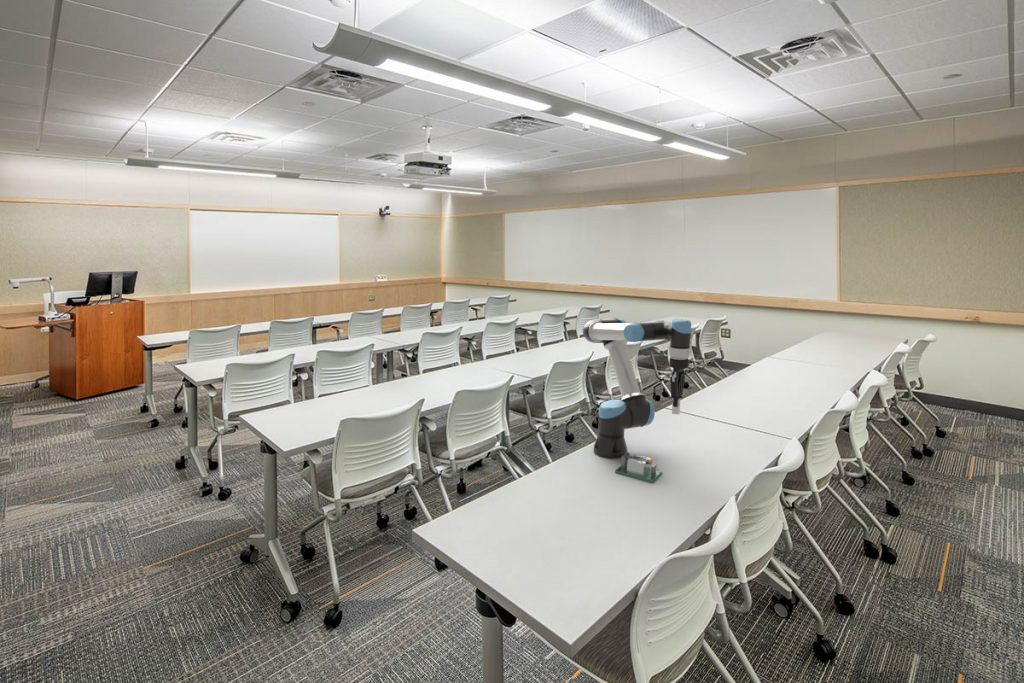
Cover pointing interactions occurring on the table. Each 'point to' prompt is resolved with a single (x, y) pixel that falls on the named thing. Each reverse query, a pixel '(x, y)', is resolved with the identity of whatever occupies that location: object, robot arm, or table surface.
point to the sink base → (638, 469)
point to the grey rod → (640, 459)
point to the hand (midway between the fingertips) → (675, 413)
